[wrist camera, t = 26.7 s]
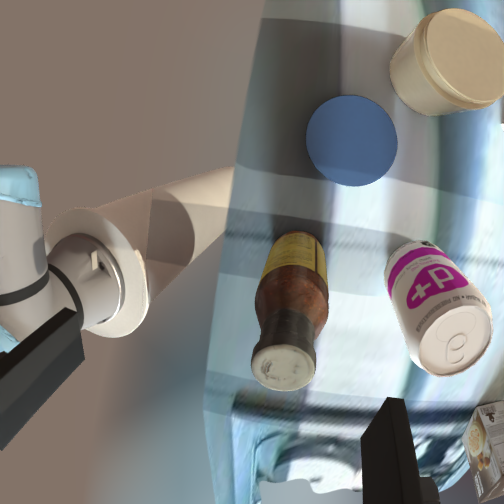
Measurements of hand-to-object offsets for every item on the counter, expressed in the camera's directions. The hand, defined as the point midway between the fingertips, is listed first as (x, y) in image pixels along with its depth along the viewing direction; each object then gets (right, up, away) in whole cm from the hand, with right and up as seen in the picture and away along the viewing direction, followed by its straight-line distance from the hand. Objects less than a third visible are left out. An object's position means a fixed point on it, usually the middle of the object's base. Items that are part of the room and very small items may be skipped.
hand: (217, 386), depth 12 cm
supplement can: (+21, +3, +23) cm, 31 cm away
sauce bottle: (+7, +5, +25) cm, 27 cm away
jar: (+20, +24, +15) cm, 35 cm away
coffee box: (+43, -25, +28) cm, 57 cm away
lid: (+11, +16, +18) cm, 27 cm away
